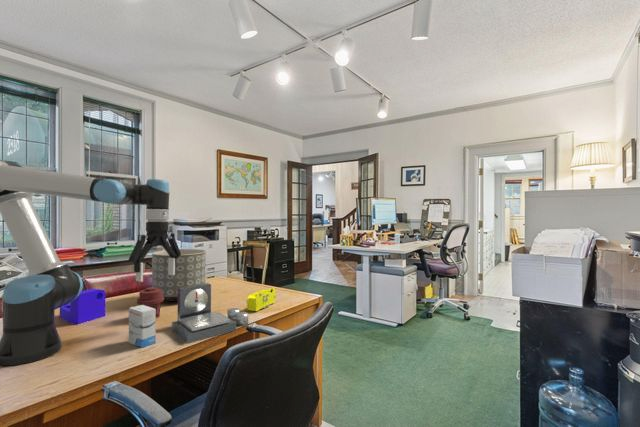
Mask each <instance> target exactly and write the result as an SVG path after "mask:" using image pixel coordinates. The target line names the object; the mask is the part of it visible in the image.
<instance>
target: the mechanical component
mask: <svg viewBox="0 0 640 427" xmlns="http://www.w3.org/2000/svg"><path fill="white" fill-rule="evenodd" d="M138 294H139V297H138V298H137V299H136V305H137V304H138V306H140V305H145V306H148V307H151V308H154V309H156V317H155V319H156V318H160V314H161V303H163V302H164V300H165V299H164V296H162V289H159V288H156V287H152V286H151V287H146V288H145V289H141V290H139V293H138Z"/></svg>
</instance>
